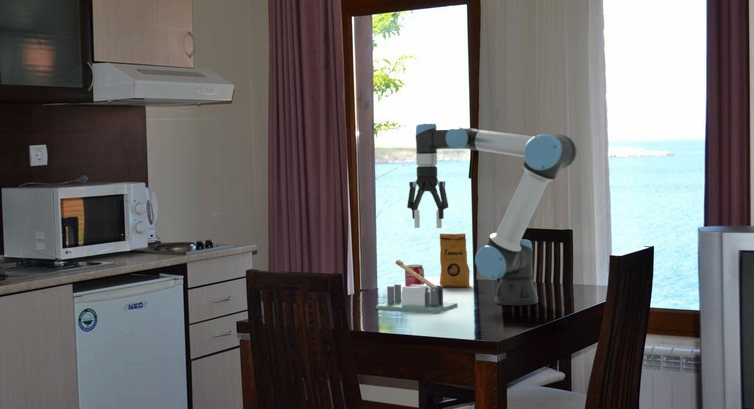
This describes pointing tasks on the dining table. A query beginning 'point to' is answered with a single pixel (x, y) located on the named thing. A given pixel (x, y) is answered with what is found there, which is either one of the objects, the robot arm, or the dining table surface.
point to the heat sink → (416, 295)
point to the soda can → (412, 279)
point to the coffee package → (453, 261)
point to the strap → (414, 273)
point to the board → (398, 307)
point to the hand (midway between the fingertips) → (428, 227)
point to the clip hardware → (396, 293)
